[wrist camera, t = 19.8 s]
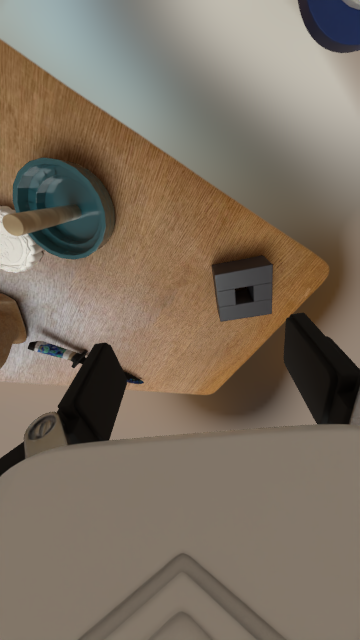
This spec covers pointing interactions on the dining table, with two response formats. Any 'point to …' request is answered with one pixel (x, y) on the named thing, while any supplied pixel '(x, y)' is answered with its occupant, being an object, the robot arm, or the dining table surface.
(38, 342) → the knife
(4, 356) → the brown hollow clay piece
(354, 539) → the robot arm
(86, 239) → the bowl
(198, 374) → the dining table surface
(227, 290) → the holder
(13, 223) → the stick
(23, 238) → the mooncake
